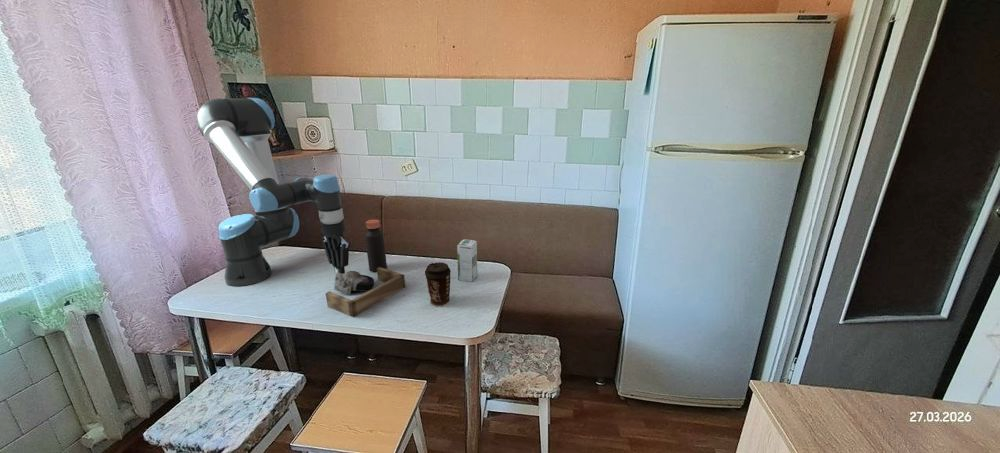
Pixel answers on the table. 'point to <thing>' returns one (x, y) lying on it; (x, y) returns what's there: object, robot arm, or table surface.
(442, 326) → the table surface
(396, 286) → the bay
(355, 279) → the caster wheel
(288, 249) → the table surface
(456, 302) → the table surface
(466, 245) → the syrup box
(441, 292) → the coffee cup
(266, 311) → the table surface
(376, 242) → the bottle
